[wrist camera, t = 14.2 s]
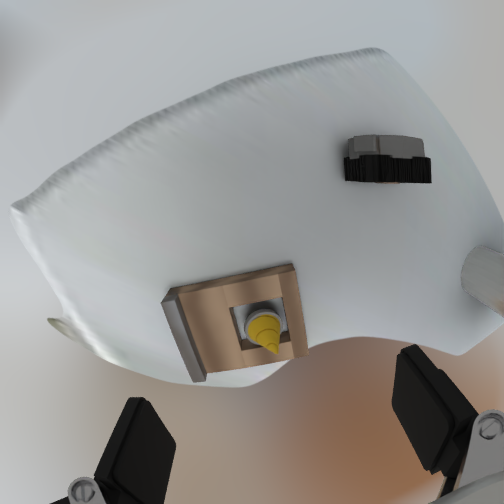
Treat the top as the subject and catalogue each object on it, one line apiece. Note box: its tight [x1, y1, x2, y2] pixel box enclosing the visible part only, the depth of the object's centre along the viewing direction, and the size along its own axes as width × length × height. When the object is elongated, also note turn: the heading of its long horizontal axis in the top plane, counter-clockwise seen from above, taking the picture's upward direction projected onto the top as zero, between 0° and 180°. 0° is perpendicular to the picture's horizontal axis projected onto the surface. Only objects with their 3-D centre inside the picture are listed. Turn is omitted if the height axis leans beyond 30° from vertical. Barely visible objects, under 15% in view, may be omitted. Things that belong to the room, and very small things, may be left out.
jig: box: [161, 264, 309, 383], centre depth 39 cm, size 18×14×5 cm
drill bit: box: [244, 309, 283, 354], centre depth 37 cm, size 5×5×10 cm
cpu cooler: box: [344, 135, 432, 184], centre depth 31 cm, size 10×6×10 cm, turn 95°
